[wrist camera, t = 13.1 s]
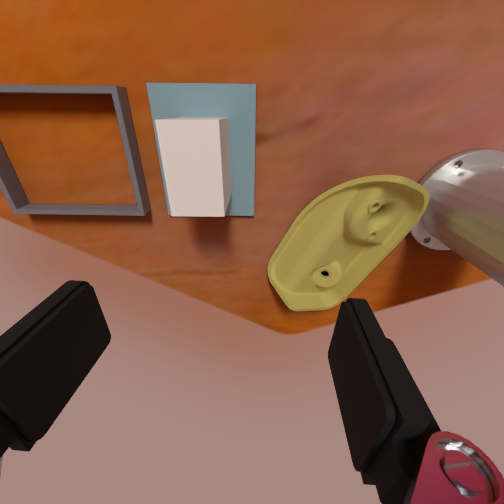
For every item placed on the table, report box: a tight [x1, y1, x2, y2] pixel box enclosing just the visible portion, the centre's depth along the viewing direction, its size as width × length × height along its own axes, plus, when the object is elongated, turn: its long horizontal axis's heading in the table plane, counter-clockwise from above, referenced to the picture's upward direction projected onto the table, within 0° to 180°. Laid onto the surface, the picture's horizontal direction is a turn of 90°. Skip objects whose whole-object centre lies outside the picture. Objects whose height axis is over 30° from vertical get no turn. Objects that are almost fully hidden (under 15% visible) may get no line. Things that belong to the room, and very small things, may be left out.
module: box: [155, 118, 232, 217], centre depth 24 cm, size 5×8×8 cm, turn 0°
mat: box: [146, 83, 256, 216], centre depth 28 cm, size 11×14×1 cm
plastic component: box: [267, 175, 429, 311], centre depth 31 cm, size 20×7×10 cm
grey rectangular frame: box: [0, 85, 151, 216], centre depth 27 cm, size 17×13×2 cm
